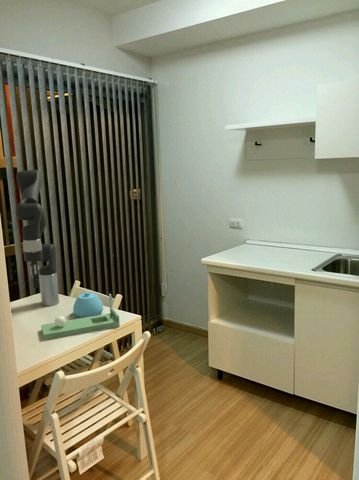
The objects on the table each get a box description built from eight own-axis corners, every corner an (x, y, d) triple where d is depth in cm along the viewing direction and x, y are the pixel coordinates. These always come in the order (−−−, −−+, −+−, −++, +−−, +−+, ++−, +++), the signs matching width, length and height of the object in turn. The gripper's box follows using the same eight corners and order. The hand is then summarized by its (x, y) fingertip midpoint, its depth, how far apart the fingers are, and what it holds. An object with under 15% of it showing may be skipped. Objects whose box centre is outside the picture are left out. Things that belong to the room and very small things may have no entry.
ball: (54, 325, 188) (53, 315, 187) (65, 323, 190) (64, 313, 189) (55, 329, 184) (54, 319, 183) (67, 327, 186) (66, 317, 185)
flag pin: (110, 317, 196) (108, 293, 194) (111, 317, 197) (110, 293, 194) (112, 320, 193) (110, 296, 191) (113, 319, 194) (112, 295, 191)
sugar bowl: (68, 313, 210) (66, 292, 208) (94, 306, 220) (92, 285, 217) (82, 321, 199) (80, 299, 196) (109, 313, 208) (107, 292, 206)
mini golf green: (41, 330, 190) (40, 319, 189) (113, 317, 203) (112, 308, 202) (44, 340, 179) (43, 329, 178) (119, 326, 192) (119, 316, 191)
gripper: (22, 247, 181) (26, 284, 184) (24, 253, 169) (28, 293, 172) (40, 245, 184) (43, 282, 187) (43, 251, 172) (46, 290, 175)
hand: (36, 287), depth 180 cm, fingers closed
